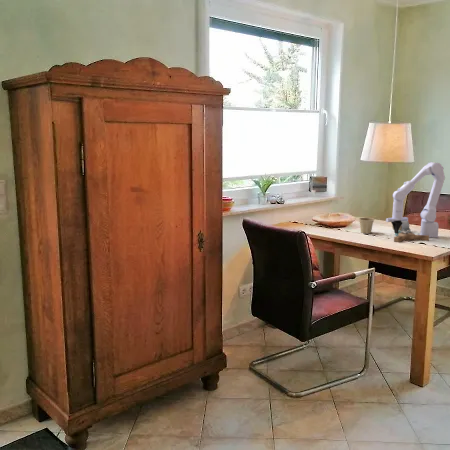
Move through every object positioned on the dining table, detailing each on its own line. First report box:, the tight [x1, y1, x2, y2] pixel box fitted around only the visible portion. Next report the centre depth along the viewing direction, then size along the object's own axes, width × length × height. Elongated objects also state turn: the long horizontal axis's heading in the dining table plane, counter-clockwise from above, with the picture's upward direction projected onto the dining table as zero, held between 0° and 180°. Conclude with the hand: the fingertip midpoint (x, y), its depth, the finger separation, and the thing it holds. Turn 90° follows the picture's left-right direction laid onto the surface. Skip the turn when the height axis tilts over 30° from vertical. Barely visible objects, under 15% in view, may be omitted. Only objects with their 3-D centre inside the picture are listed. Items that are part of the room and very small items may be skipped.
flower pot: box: [358, 217, 375, 234], centre depth 304 cm, size 9×9×9 cm
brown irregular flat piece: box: [393, 232, 430, 243], centre depth 284 cm, size 22×13×3 cm, turn 92°
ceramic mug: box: [391, 220, 412, 233], centre depth 307 cm, size 11×8×8 cm
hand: (396, 233), depth 295 cm, fingers closed
